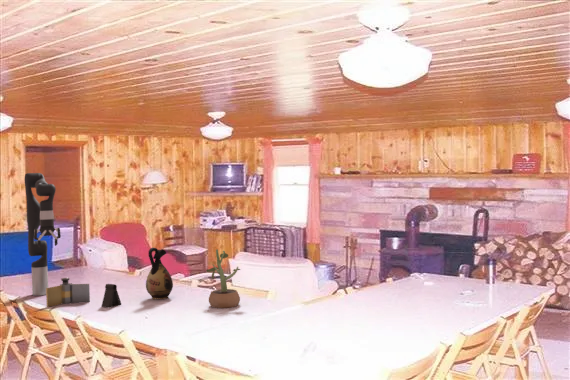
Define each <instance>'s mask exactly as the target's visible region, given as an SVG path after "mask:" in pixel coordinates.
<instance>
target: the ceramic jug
mask: <svg viewBox="0 0 570 380" xmlns="http://www.w3.org/2000/svg"><path fill="white" fill-rule="evenodd" d="M153 252H154V255H153ZM165 255H167V251H166V250H165V249H158V248H156V247H150V248H149V250H148V259H149V261H150V264H151V269H150V271H149V273H148V274H147V276H146V281H145V289H146V291H147V293H148V294H149V295H150V296H151V299H152V300H165V299H166V300H167V299H169V296H170V294H171V293H172V291H173V287H174V282H173V279H172V276H171V274H170V272H169V270H168V268H166V266H165V265H164V264H163V262H162V260H161V258H162V257H164V256H165Z"/></svg>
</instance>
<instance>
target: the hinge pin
mask: <svg viewBox="0 0 570 380" xmlns="http://www.w3.org/2000/svg"><path fill="white" fill-rule="evenodd" d="M61 281H62V284H63V285H69V283H70V282H69V281H70V277H62V278H61Z"/></svg>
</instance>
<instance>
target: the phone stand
mask: <svg viewBox="0 0 570 380" xmlns="http://www.w3.org/2000/svg"><path fill="white" fill-rule="evenodd" d="M117 287H118V285H117V284H116V283H115V284H113V283H106V284H105V286H104V288H105V290H104V294H103V298H102V303H101V307H102V308H108V309H110V308H114V307H117V306H122V302H121V299H120V295H119V292H118V288H117Z"/></svg>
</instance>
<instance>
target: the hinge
mask: <svg viewBox="0 0 570 380" xmlns="http://www.w3.org/2000/svg"><path fill="white" fill-rule="evenodd" d="M68 283H69V285H63V283H60V284H59V285H55V286H50V287H48V288H46V295H45V296H46V298H45V299H46V308H49V307H54V306H59V305H68V304H72V303H73V304H74V303H76V304H77V303H79V302H80V303H90V302H91V296H90V295H91V294H90V292H91V291H90V290H91V289H90V283H70V282H68Z"/></svg>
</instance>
